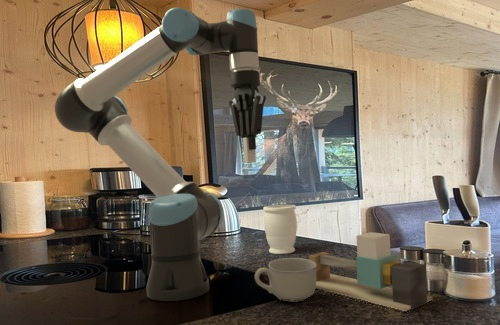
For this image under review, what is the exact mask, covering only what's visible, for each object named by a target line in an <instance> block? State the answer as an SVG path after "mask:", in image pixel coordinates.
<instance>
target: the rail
mask: <svg viewBox="0 0 500 325" xmlns="http://www.w3.org/2000/svg"><path fill="white" fill-rule="evenodd" d="M308 260H312V261H314V262H315V263H316V265H317V267H316V288H319V289H323V290H326V291H330V292H334V293H337V294H341V295H345V296H349V297H353V298H357V299H361V300H365V301H368V302H371V303H375V304H379V305H383V306H387V307H391V308H395V309H399V310H402V311H407V310H409V309H412V308H415V307H417V306H419V305H422V304H424V303H427V302H429V301H431V300H433V301H434V298H433V295H429V294H428V286H427V269H426V268H427V267H426V264H423V263H417V262H412V261H406V262H404V263H402V262H401V261H397V260H396V261H391V262H388V263H385V264H382V267H383V283H385V284H389V285H390V286H387V287H385V288H382V289H378V288H374V287H370V286H365V285H361V284H358V283H357V279H356V278H352V277H347V276H344V275H339V274H334V273H331V269H330V268H331V267H335V268H339V269H340V268H341V269H346V270H351V271H356V272H357V264H356V259H351V258H350V259H349V258H345V257H339V256H333V255H330V253H329V252H324V251H322V252H319V253H315V254H310V255H309V256H308ZM427 304H428V303H427Z"/></svg>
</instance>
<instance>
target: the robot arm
mask: <svg viewBox="0 0 500 325" xmlns="http://www.w3.org/2000/svg"><path fill="white" fill-rule="evenodd" d="M256 17H257V16H256V13H255V12H254V11H253V10H251V9H248V8H236V9H233V10H230V11H228V12H227V15H226V20H224V21H219V22H210V23H209V22H208V21H206V20H204V19H202V18H201V17H198V16H197V15H196V14H195V13H194V12H192V11H191V10H187V9H186V8H182V7H176V6H175V7H172V8H170V9H169V10H167V11H166V12H165V14H164V16H163V17H162V21H161V25H160V26H158V27H157V28H155V29H154V30H153V31H151V32H150V33H148V34H147V35H145V36H144V37H143V38H140V40H138V41H136V42H135V43H134V44H133V45H131V46H130V47H128V48H127V49H126V50H124V51H123V52H121V53H120V54H118V55H117V56H116V57H114V58H113V59H111V60H110V61H108V62H107V63H106V64H104V65H103V66H102V67H100V68H98V69H97V70H96V71H94V72H93V73H91V74H90V75H88V76H87V77H85V78H81V77H80V78H77V79H76V80H74V81H73V82H71V83H70V84H69V85H67V86H66V87H65V88H64V89H63V90H62V91H61V92H60V93H59V95H58V96H57V97H56V100H55V102H54V103H55V104H54V113H55V117H56V119H57V121H58V122H59V123H60V124H61V126H62V127H64V128H65V129H66V130H68V131H70V132H75V133H88V134H89V135H91V136H92V138H93V139H94V140H95V141H96V142H97V143H98V144H99V145H100V146H108V147H109V148H110V149H111V150H112V151H113V152H114V153H115V154H116V155H117V156H118V158H119V159H120V160H121V161H122V162H123V163H124V164H125V165H126V166H127V167H128V168H129V169H130V170H131V171H132V172H133V173H134V174H135V175H136V176H137V177H138V178H139V180H140V181H141V182H142V183H143V184H144V185H145V186H146V187H147V188H148V189H149V190H150V191H151V192H152V193H153V195H155V196H156V198H155V199H153V200H151V202H150V203H149V206H148V207H149V208H148V222H149V223H148V224H149V235H150V249H151V250H150V251H151V266H150V270H149V275H148V278H147V283H146V286H145V287H146V288H145V289H146V297H147V298H148V299H150V300H153V301H159V302H177V301H184V300H190V299H195V298H197V297H200V296H203V295H205V294H206V293H208V292H209V291H210V282H209V277H208V274H207V272H206V270H205V267H204V265H203V262H202V260H201V251H200V250H201V249H200V240H202V239H205V238H207V237H210V236H212V235H213V234H214V233H215V232H217V231H218V230H219V228H220V227H221V226H222V223H223V221H224V207H223V204H222V202H221V201H220V199H218V197H217V196H215V195H213V194H211V193H209V192H204V191H203V190H202V189H201V187H199V186H198V185H197V184H196V182H194V181H186V180H185V179H184V178H183V176H181V175H180V174H179V173H178V171H176V170H175V169H174V168H173V167H172V165H170V164H169V163H168V162H167V161H166V159H164V158H163V157H162V155H161V154H160V153H158V151H157V150H156V149H155V148H154V147H153V146H152V145H151V144H150V143H149V142H148V141H147V140H146V139H145V138H144V137H143V136H142V135H141V134H140V133H139V132H138V131H137V130H136V129H135V128H134V127H133V125H132V117H131V116H130V115H129V114H128V108H127V106H126V104H125V103H124V102H123V100H122V99H121V98H119V97H118V96H116V95H118V94H120V93H121V92H122V91H124V90H126V89H127V88H129V86H132V85H133V84H134V83H136V82H137V81H139V80H140V79H141V78H143V77H145V76H146V75H147V74H148V73H151V72H152V71H153V70H154V69H157V67H159V66H161V65H162V64H163V63H166V61H168V60H169V59H171V58H172V57H174V56H175V55H176V54H178V53H179V54H180V52H182V51H184V50H185V51H186V53H187V54H188V55H190V56H204V55H208V54H215V53H221V52H228V51H229V52H228V55H229V58H228V60H229V71H230V72H231V73H230V87H231V88H233V89H234V94H233V99H232V100H229V101H228V106H229V108H230V110H231V115H232V120H233V126H234V129H235V135H236V136H237V137H238V136H239V137H240V138H241V142H242V143H241V144H242V150H243V162H244V164H253V163H257V156H256V150H257V142H256V141H257V140H256V138H257V137H258V136H257V135H260V134H262V128H263V126H262V125H263V116H264V105H265V102H266V99H267V96H266V95H261V94H260V91H259V88H258V87H259V86H260V85H261V77H260V72H259V69H260V65H259V64H260V62H259V48H258V47H259V45H258V44H259V43H258V26H257V19H256Z"/></svg>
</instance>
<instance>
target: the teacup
mask: <svg viewBox="0 0 500 325" xmlns="http://www.w3.org/2000/svg"><path fill="white" fill-rule="evenodd" d="M316 267H317V265H316V263H315V262H314V261H312V260H309V258H308V259H307V258H303V257H283V258H277V259H274V260H272V261H270V262H269V263H268V266H267V267H259V268H258V269H257V270H256V271H255V272H254V273H255V274H254V281H255V282H256V284H257V285H258V286H260V287H261V288H262V289H264V290H267V292H268V293H269V294H273V296H276V298H277V299H278V300H280V301H281V299H290V300H295V299H305V298H308V297H309V298H310V297H311V296H313V294H314V293H315V291H316V290H315V289H316ZM262 273H265V274H266V275H267V277H268V279H269V285H268V284H266V283H264V282H263V281H261V279H260V276H261V274H262ZM309 298H308V299H309Z"/></svg>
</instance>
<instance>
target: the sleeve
mask: <svg viewBox="0 0 500 325" xmlns="http://www.w3.org/2000/svg"><path fill="white" fill-rule="evenodd" d="M390 237H391V235H390V234H388V233H382V232H381V233H380V232H372V231H370V232H366V233H361V234H357V235H356V249H357V250H356V252H357V256H355V260H356V264H357V271H356V278H357V283H358V284H361V285H365V286H370V287H374V288H378V289H382V288H385V287H387V286H389V287H391V285H389V284H385V283H383V267H382V264H385V263H388V262H391V261H397V255H396V254H391V238H390Z"/></svg>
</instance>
